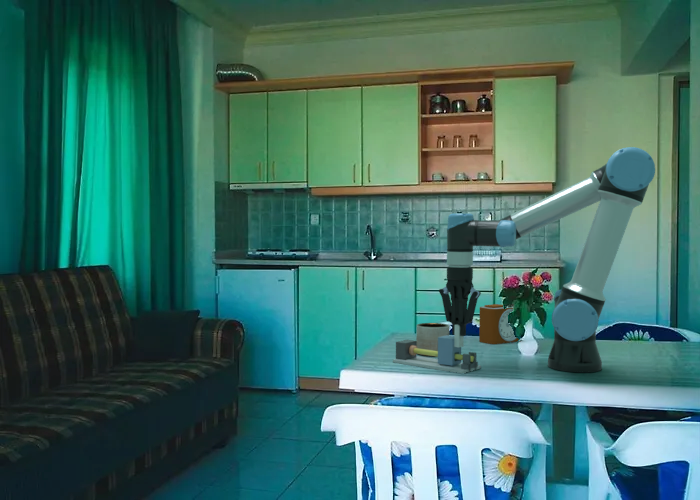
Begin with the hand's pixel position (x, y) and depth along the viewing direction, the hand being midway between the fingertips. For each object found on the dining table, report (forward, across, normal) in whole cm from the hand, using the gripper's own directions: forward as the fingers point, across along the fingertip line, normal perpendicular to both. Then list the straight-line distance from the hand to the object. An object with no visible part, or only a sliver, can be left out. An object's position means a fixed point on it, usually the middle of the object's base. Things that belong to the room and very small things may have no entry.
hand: (458, 346), depth 193 cm
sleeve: (+5, +3, 0) cm, 6 cm away
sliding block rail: (+7, +8, 0) cm, 10 cm away
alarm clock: (+7, +14, -52) cm, 54 cm away
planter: (+7, +19, -15) cm, 25 cm away
